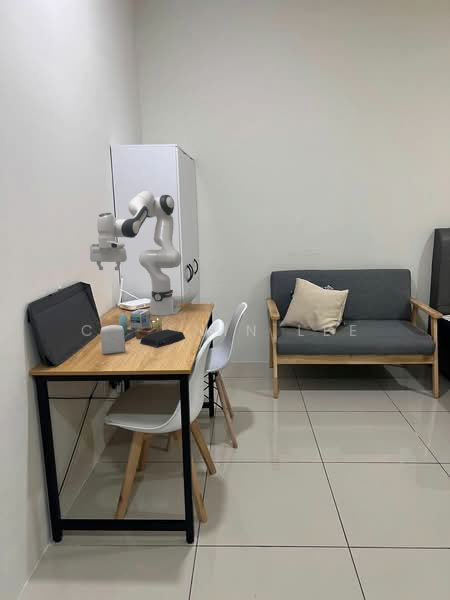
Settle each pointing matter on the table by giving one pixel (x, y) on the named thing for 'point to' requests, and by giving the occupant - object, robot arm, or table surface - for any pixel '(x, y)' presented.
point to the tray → (130, 334)
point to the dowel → (123, 323)
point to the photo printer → (112, 339)
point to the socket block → (144, 332)
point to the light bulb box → (140, 319)
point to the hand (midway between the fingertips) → (108, 270)
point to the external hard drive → (162, 338)
